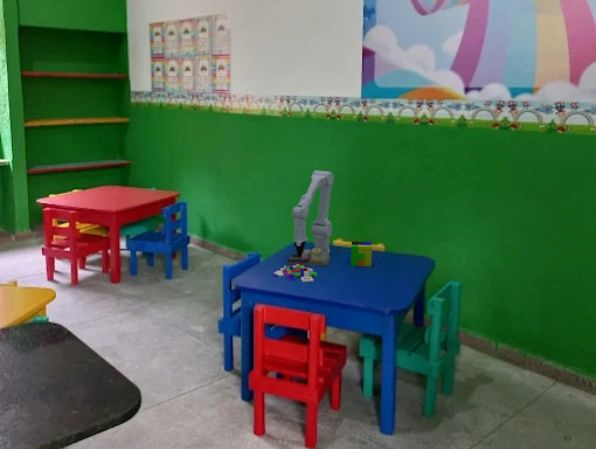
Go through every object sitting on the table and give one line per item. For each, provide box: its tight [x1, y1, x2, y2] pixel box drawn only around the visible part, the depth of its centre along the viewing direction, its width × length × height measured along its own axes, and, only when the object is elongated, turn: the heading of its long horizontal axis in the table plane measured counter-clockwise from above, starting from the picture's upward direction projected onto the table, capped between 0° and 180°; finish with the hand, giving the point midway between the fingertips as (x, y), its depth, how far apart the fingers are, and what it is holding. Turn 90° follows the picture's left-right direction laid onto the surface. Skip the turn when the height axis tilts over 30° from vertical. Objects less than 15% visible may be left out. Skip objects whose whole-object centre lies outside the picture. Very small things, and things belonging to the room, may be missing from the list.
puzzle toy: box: [350, 241, 373, 267], centre depth 311 cm, size 10×10×10 cm
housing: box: [311, 248, 322, 261], centre depth 312 cm, size 4×4×5 cm
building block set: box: [271, 263, 318, 283], centre depth 295 cm, size 25×20×4 cm
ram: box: [302, 248, 312, 260], centre depth 314 cm, size 8×3×4 cm, turn 167°
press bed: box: [286, 250, 332, 268], centre depth 314 cm, size 12×20×6 cm, turn 77°
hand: (300, 256), depth 315 cm, fingers closed
